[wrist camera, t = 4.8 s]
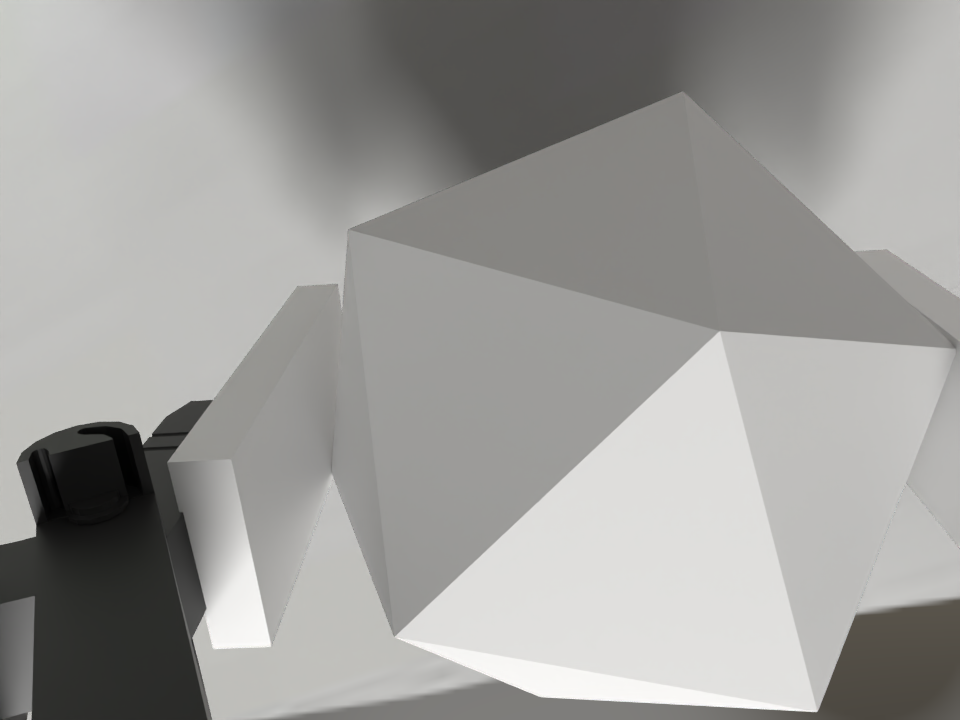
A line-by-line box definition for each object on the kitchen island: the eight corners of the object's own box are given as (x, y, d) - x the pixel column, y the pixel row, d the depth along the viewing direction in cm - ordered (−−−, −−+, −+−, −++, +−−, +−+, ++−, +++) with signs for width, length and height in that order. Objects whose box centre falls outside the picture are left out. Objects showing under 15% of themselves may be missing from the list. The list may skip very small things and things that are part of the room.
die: (325, 447, 18) (535, 927, 13) (161, 113, 12) (451, 819, 6) (652, 296, 20) (972, 667, 14) (674, -77, 13) (1299, 345, 7)
